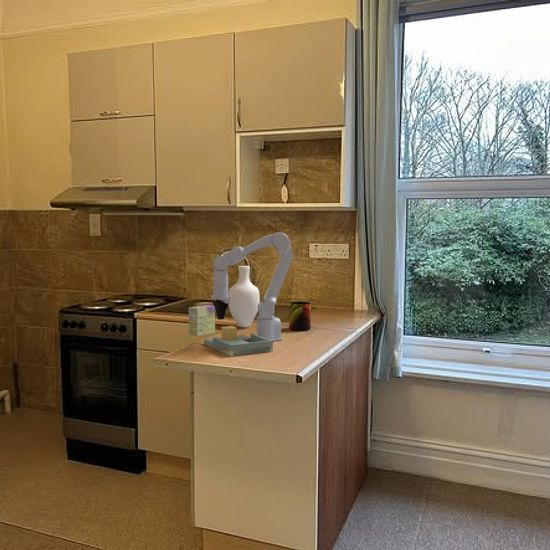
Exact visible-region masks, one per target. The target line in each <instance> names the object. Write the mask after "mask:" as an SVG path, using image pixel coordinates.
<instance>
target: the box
mask: <svg viewBox="0 0 550 550" xmlns="http://www.w3.org/2000/svg"><path fill="white" fill-rule="evenodd" d="M210 334H216V309H215V307H214V305H210V304H209V305H208V304H205V305H197V306H192V307H191V306H189V307H188V335H190V336H195V337H198V336H204V335H210Z"/></svg>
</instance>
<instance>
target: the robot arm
mask: <svg viewBox="0 0 550 550" xmlns="http://www.w3.org/2000/svg"><path fill="white" fill-rule="evenodd" d="M264 247H271V248H272V247H274V248H275V250H277V252H278V255H279V257H280V258H279V260H278V263H277V266H276V267H275V270H274V273H273V274H272V278H271V280H270V283H269V285H268V287H267V290H266V293H265V294H264V296H263V298H262V299H261V301H260V303H259V304H258V311H257V313H258V315H257V316H256V335H258V336H261V337H264V338H267V339H269V340H272V341H273V342H274V341H282V339H283V338H282V322H281V319H280V318H279V317H275V306H276V304H277V303H276V302H277V298H278V296H279V293H280V290H281V288H282V286H283V283H284V281H285V278H286V276H287V273H288V271H289V268H290V266H291V264H292V260H293V258H294V254H293V249H292V242H291V240H290V238H289V236H288V235H287V234H286V233H284V232H279V231H277V232H274V233H273V234H268V235H265V236H263V237H261V238H259V239H257V240H256V241H253V242H252V243H250V244H247V245H246V246H244V247H242V246H241V245H239V246H238V245H237V246H236V245H235V246H233V247H232V249H230V250H227V251H226V252H225V251H223V252H222V253H221V255H217V256H216V257H215V258H214V259H213V267H214V269H213V294H211V296H210V299H211V300H215V301H212V306H214V307H215V314H216V316H217V317H216V318H217V319H218V320H224V319H225V316H226V312H227V309H228V307H229V303H231V298H229V297H228V294H229V274H228V267H229V266H230V267H231V266H234V265H236V264H238V263H240V262H242V261H243V260H245V259H246V258H247V255H248V254H251V253H252V252H255V251H258V250H260V249H262V248H264Z"/></svg>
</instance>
